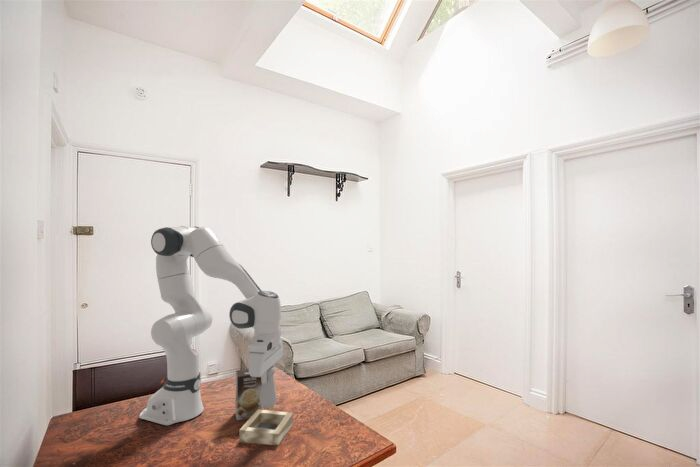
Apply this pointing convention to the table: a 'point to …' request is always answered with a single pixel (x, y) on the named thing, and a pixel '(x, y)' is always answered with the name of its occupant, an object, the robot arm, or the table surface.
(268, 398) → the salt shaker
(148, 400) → the robot arm
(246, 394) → the coffee box
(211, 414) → the table surface
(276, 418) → the socket block
